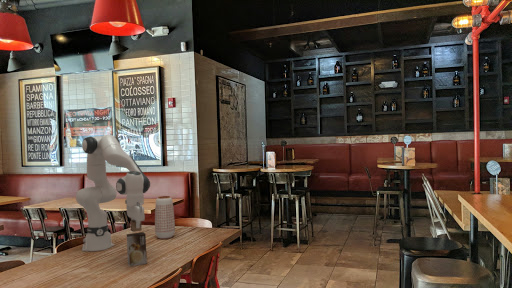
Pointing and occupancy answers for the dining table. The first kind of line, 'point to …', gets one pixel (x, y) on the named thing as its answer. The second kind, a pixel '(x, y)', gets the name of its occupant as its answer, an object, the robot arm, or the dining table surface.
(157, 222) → the grey textured vase
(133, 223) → the walnut block
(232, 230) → the dining table surface
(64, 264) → the dining table surface
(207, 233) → the dining table surface
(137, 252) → the coffee box
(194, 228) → the dining table surface
